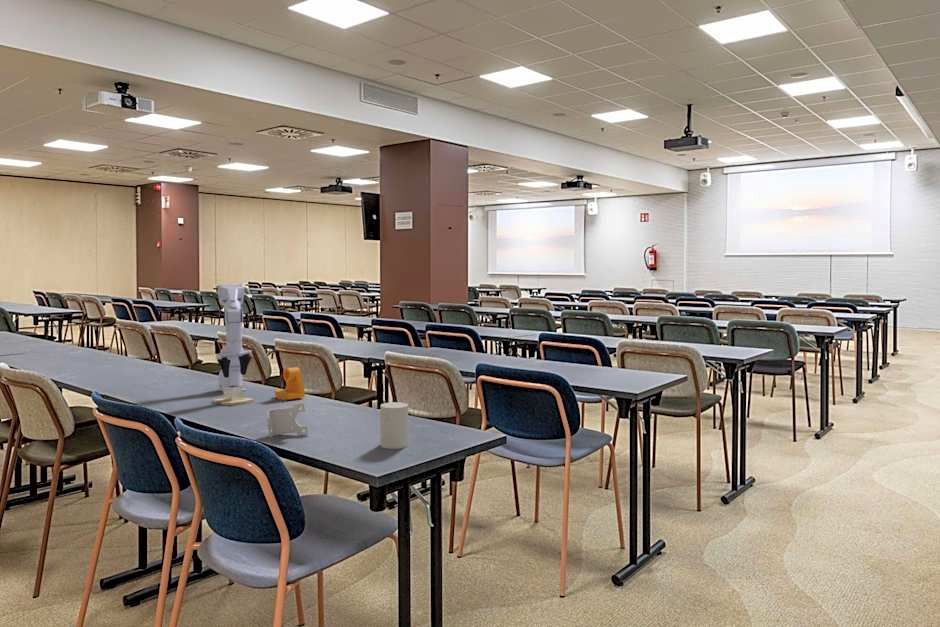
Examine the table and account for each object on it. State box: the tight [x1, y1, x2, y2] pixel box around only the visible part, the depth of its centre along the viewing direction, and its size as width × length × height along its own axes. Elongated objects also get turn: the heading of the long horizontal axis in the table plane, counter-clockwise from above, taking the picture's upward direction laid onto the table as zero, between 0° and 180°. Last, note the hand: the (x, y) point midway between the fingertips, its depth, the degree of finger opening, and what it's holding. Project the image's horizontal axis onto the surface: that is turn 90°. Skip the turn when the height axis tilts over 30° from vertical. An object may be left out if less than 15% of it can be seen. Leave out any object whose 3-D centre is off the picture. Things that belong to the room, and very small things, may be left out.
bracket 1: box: [274, 366, 306, 401], centre depth 275 cm, size 11×7×12 cm, turn 46°
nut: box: [222, 385, 244, 401], centre depth 266 cm, size 5×5×5 cm
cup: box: [380, 401, 409, 450], centre depth 207 cm, size 8×8×12 cm
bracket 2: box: [265, 402, 310, 438], centre depth 216 cm, size 11×4×10 cm, turn 82°
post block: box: [211, 386, 255, 407], centre depth 267 cm, size 12×10×6 cm
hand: (234, 375), depth 267 cm, fingers open, 7 cm apart
